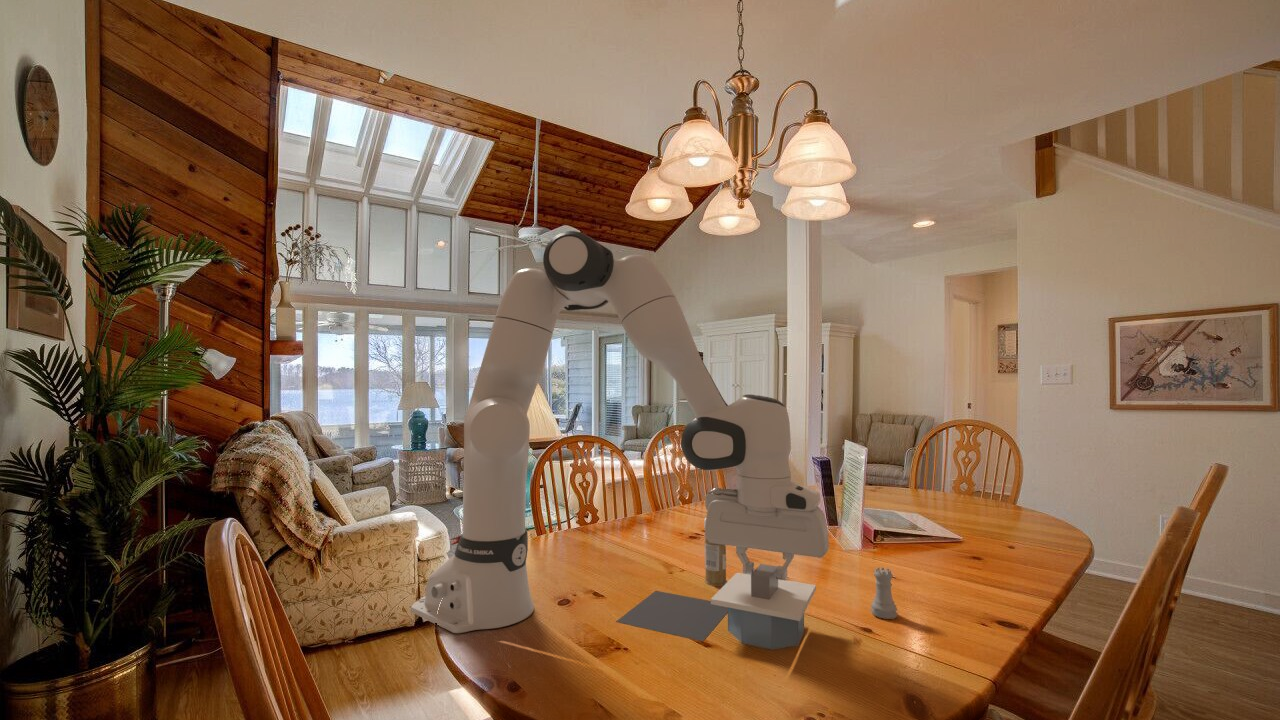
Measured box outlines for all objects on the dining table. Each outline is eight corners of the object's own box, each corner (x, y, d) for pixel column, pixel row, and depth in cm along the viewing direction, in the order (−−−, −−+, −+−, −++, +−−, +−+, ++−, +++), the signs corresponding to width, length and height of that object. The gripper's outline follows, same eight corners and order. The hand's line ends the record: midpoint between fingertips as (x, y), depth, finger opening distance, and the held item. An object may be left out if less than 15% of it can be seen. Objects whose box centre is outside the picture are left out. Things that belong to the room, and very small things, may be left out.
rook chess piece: (882, 621, 95) (881, 575, 96) (865, 611, 99) (864, 566, 100) (903, 618, 96) (902, 572, 97) (885, 608, 101) (885, 564, 101)
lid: (710, 604, 88) (710, 576, 88) (736, 576, 100) (736, 553, 100) (800, 621, 81) (799, 591, 82) (815, 589, 94) (815, 564, 94)
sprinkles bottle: (731, 585, 113) (730, 518, 113) (714, 589, 110) (714, 521, 111) (716, 578, 117) (716, 514, 117) (699, 582, 114) (699, 517, 115)
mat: (615, 624, 94) (615, 621, 94) (655, 592, 109) (655, 590, 109) (703, 643, 87) (703, 641, 87) (733, 607, 101) (733, 605, 101)
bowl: (721, 640, 88) (720, 602, 88) (742, 614, 98) (741, 580, 99) (794, 657, 83) (793, 616, 83) (808, 627, 93) (807, 591, 93)
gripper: (698, 489, 94) (699, 572, 93) (823, 501, 84) (825, 593, 84) (711, 483, 99) (711, 561, 98) (829, 494, 90) (831, 579, 89)
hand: (764, 576), depth 91 cm, fingers open, 4 cm apart
